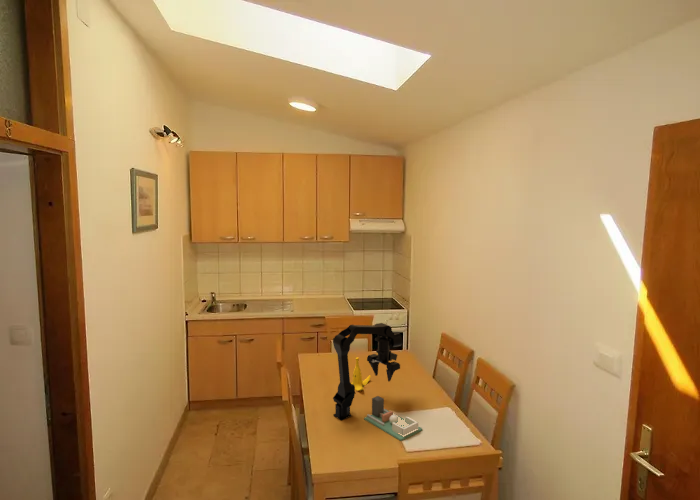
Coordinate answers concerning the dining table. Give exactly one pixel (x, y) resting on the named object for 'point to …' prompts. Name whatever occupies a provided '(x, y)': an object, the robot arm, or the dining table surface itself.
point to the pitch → (394, 426)
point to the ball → (393, 419)
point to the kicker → (380, 409)
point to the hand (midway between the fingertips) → (382, 378)
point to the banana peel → (358, 377)
